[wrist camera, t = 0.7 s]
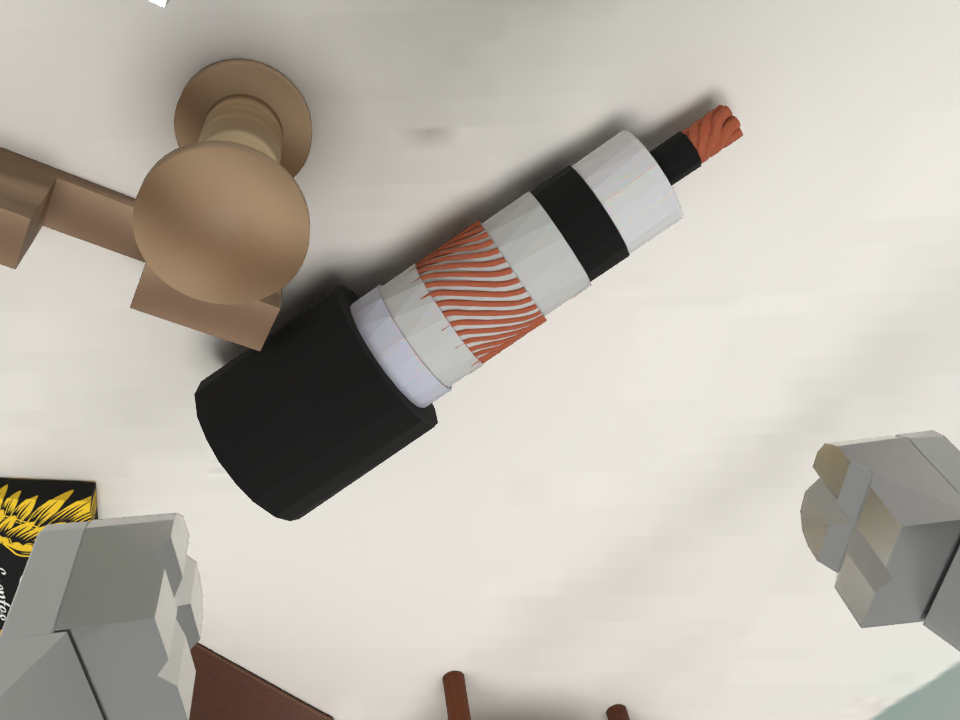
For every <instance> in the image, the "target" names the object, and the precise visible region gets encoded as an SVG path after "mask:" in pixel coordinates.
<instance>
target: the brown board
mask: <svg viewBox="0 0 960 720" xmlns="http://www.w3.org/2000/svg"><path fill="white" fill-rule="evenodd" d="M135 200H136V199H133V198H130V197H128V196H125V195H123V194H120V193H117V192H115V191H112V190H110V189H107V188H105V187H102V186H99V185H97V184H94V183H92V182H89V181H86V180H84V179H81V178H79V177H76V176H73V175H71V174H68V173H66V172H63V171H60V170H58V169H55V168H53V167H50V166H47V165H45V164H42V163H40V162H37V161H34V160H32V159H29V158H27V157H24V156H22V155H19V154H16V153H14V152H11V151H9V150H6V149H3V148H1V147H0V264H1V265H4V266H7V267H10V268H13V269H16V268H17V266H18V265H19V263H20V261H21V260H22V258H23V256H24V255H25V253H26V252H27V250H28V248H29V247H30V245H31V244H32V242H33V240H34V239H35V237H36V235H37V234H38V232H39V231H40V229H41V227H42V226H45V227H48V228H51V229H53V230H56V231H59V232H62V233H65V234H67V235H70V236H73V237H76V238H79V239H81V240H84V241H87V242H90V243H92V244H95V245H98V246H101V247H104V248H106V249H109V250H112V251H115V252H118V253H120V254H123V255H126V256H129V257H132V258H134V259H137V260H140V261H143V262H145V263H146V264H145V267H144V270H143V272H142V275H141V278H140V281H139V284H138V286H137V289H136V292H135V295H134V297H133V300H132V303H131V306H130V308H132V309H135V310H138V311H141V312H144V313H147V314H150V315H153V316H156V317H159V318H162V319H165V320H168V321H171V322H174V323H177V324H180V325H183V326H186V327H189V328H192V329H195V330H198V331H201V332H204V333H207V334H209V335H212V336H215V337H218V338H221V339H224V340H227V341H230V342H233V343H236V344H239V345H242V346H245V347H248V348H251V349H254V350H257V351H261V349H262V346H263V344H264V342H265V340H266V338H267V336H268V334H269V332H270V330H271V327H272V325H273V323H274V321H275V319H276V317H277V315H278V313H279V311H280V308H281V294H282V288H281V289H280V290H278V291H277V292H275V293H273V294H272V295H270V296H268V297H265V298H263V299H260V300H257V301H253V302H250V303H244V304H233V305H225V304H214V303H209V302H204V301H201V300H197V299H194V298H192V297H189V296H187V295H184V294H183V293H181V292H179V291H177V290H175V289H174V288H172V287H171V286H169V285H168V284H167V283H165V282H164V281H163V280H162V279H161V278H160V277H158V276H157V275H156V274H155V272H154V271H153V270H152V269H151V268H150V267H149V265H148V264H147V262H146V261H145V260H144V258H143V256H142V254H141V252H140V250H139V248H138V246H137V243H136V240H135V236H134V231H133V219H132V217H133V208H134V204H135Z"/></svg>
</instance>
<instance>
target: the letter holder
mask: <svg viewBox="0 0 960 720" xmlns="http://www.w3.org/2000/svg"><path fill="white" fill-rule="evenodd" d="M190 653H191V656H192V660H193V663H194V667H195V670H196V674H195V681H194V688H193V695H192V702H191V709H190V716H189V720H334V719H333V718H332V717H329V716H327V715H326V714H324V713H322V712H320V711H318V710H316V709H314V708H313V707H311V706H309V705H307V704H305V703H304V702H302V701H300V700H298V699H296V698H294V697H293V696H291V695H289V694H287V693H285V692H284V691H282V690H280V689H278V688H276V687H275V686H273V685H271V684H269V683H268V682H266V681H264V680H262V679H261V678H259V677H257V676H255V675H254V674H252V673H250V672H248V671H247V670H245V669H243V668H241V667H239V666H238V665H236V664H234V663H232V662H231V661H229V660H227V659H225V658H223V657H222V656H220V655H218V654H216V653H214V652H213V651H211V650H209V649H207V648H205V647H204V646H202V645H200V644H198V643H196V644H195V645H194V647H193V648H192V649H191V650H190Z"/></svg>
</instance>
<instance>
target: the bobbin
mask: <svg viewBox="0 0 960 720" xmlns="http://www.w3.org/2000/svg"><path fill="white" fill-rule="evenodd" d="M174 128H175V135H176V139H177V142H178V145H179V148H178V149H175V150H174V151H172V152H170V153H169V154H167V155H165V156H164V157H163V158H162V159H161V160H159V161H158V162H157V163H156V164H155V165H154V166H153V167H152V169H151V170H150V171H149V173H148V174H147V176H146V177H145V179H144V181H143V183H142V186H141V188H140V190H139V192H138V195H137V197H136V200H135V204H134V208H133V217H132V219H133V231H134V236H135V240H136V243H137V246H138V248H139V250H140V252H141V254H142V256H143V258H144V260H145V261H146V262H147V264H148V265H149V267H150V268H151V269H152V270H153V271H154V272H155V274H156V275H157V276H158V277H160V278H161V279H162V280H163V281H164V282H165V283H167V284H168V285H169V286H171V287H172V288H174V289H175V290H177V291H179V292H181V293H183V294H184V295H187V296H189V297H192V298H194V299H197V300H201V301H204V302H209V303H214V304H225V305H233V304H244V303H250V302H253V301H257V300H260V299H263V298H265V297H268V296H270V295H272V294H273V293H275V292H277V291H278V290H280V289H281V288H283V287H284V286H285V285H286V284H287V283H288V282H289V281H290V280H291V279H293V277H294V276H295V275H296V273H297V272H298V271H299V269H300V267H301V266H302V264H303V262H304V259H305V257H306V254H307V250H308V246H309V235H310V220H309V212H308V207H307V203H306V200H305V198H304V195H303V193H302V191H301V189H300V187H299V186H298V184H297V183H296V181H295V180H294V177H295V176H296V175H297V174H298V172H299V171H300V170H301V168H302V167H303V165H304V163H305V162H306V160H307V157H308V154H309V151H310V147H311V138H312V126H311V118H310V113H309V110H308V107H307V104H306V102H305V100H304V98H303V96H302V95H301V93H300V92H299V90H298V89H297V88H296V87H295V85H294V84H293V83H292V82H291V81H290V80H289V79H288V78H287V77H286V76H284V75H283V74H281V73H280V72H279V71H277V70H275V69H274V68H272V67H270V66H268V65H265V64H263V63H260V62H256V61H252V60H246V59H230V60H223V61H219V62H216V63H213V64H211V65H209V66H207V67H205V68H204V69H202V70H200V71H199V72H198V73H197V74H195V75H194V76H193V77H192V79H191V80H190V81H189V82H188V83H187V85H186V86H185V88H184V90H183V92H182V94H181V96H180V99H179V101H178V103H177V107H176V111H175V118H174Z"/></svg>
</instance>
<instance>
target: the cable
mask: <svg viewBox="0 0 960 720" xmlns="http://www.w3.org/2000/svg"><path fill="white" fill-rule="evenodd" d="M739 127H740V123H739V121H738V119H737V118H736V117H735V116H732V112H731V110H730V109H729V107H727V106H724V107H723V106H722V105H719V106H718V107H716V108H715V109H714V110H712V111H711V112H709V113H707V114H706V115H705V116H704V118H703V119H700V120H698V121H696V122H695V123H693V124H692V126H691V127H690V128H686V129H684V130H682V131H680V132H678V133H677V134H675V135H674V136H672V137H671V138H669V139H668V140H666V141H665V142H664V143H662V144H661V145H659V146H658V147H656V148H655V149H653V150H652V151H650V152H648V150H647V149H646V148H645V146H644V145H643V144H642V143H641V142H640V141H639V140H638V139H637V138H636V137H635V136H634V135H633V134H632V133H631V132H629V131H626V130H622V131H621V132H619V133H618V134H616V135H615V136H614V137H612V138H611V139H609V140H608V141H606V142H605V143H604V144H602V145H601V146H599V147H598V148H596V149H595V150H594V151H592V152H591V153H589V154H588V155H586V156H585V157H584V158H582V159H581V160H579V161H578V162H576V163H575V164H574V165H572V166H568V167H567V168H565V169H564V170H562V171H561V172H559V173H558V174H556V175H555V176H553V177H552V178H551V179H549V180H548V181H546V182H545V183H543V184H542V185H540V186H539V187H538V188H536V189H535V190H533V191H532V192H529V191H528V192H527V193H525V194H524V195H522V196H521V197H520V198H518V199H517V200H515V201H514V202H512V203H511V204H509V205H508V206H506V207H505V208H504V209H502V210H501V211H499V212H498V213H496V214H495V215H493V216H492V217H491V218H489V219H488V220H486V221H485V222H483V223H482V224H481V222H480V221H479V220H478V221H476V222H475V223H474V224H472V225H471V226H469V227H468V228H466V229H465V230H464V231H462V232H461V233H459V234H458V235H457V236H455V237H454V238H452V239H451V240H449V241H448V242H446V243H445V244H443V245H442V246H441V247H439V248H438V249H437V250H435V251H434V252H432V253H431V254H429V255H428V256H427V257H425V258H424V259H422V260H421V261H419V262H418V263H416V264H413V265H412V266H410V267H409V268H408V269H406V270H405V271H403V272H402V273H400V274H399V275H398V276H396V277H395V278H393V279H392V280H390V281H389V282H388V283H386V284H385V285H383V286H382V285H378V286H377V287H375V288H374V289H373V290H371V291H370V292H368V293H367V294H365V295H364V296H363V297H361V298H358V297H357V296H356V295H355V294H354V293H353V292H352V291H351V290H349V289H347V288H345V287H343V286H341V285H340V286H339V287H337V288H336V289H334V290H333V291H331V292H330V293H328V294H327V295H326V296H324V297H323V298H321V299H320V300H318V301H317V302H315V303H314V304H313V305H311V306H310V307H308V308H307V309H305V310H304V311H302V312H301V313H300V314H298V315H297V316H295V317H294V318H292V319H291V320H289V321H288V322H287V323H285V324H284V325H282V326H281V327H279V328H278V329H276V330H275V331H274V332H272V333H271V334H269V335H268V336H267V338H266V340H265V342H264V344H263V346H262V349H261V351H257V350H254V349H251V348H249V349H248V350H246V351H245V352H243V353H242V354H240V355H239V356H237V357H236V358H235V359H233V360H232V361H230V362H229V363H227V364H226V365H224V366H223V367H222V368H220V369H219V370H217V371H216V372H214V373H213V374H211V375H210V376H209V377H207V378H206V379H204V380H203V381H201V383H200V385H199V387H198V389H197V391H196V393H195V402H196V410H197V417H198V420H199V422H200V425H201V427H202V430H203V432H204V435H205V437H206V440H207V441H208V443H209V445H210V447H211V449H212V450H213V452H214V454H215V456H216V457H217V459H218V461H219V462H220V464H221V465H222V466H223V468H224V469H225V470H226V471H227V473H228V474H229V475H230V477H231V478H232V479H233V481H234V482H235V483H236V484H237V486H238V487H239V488H240V489H241V490H242V491H243V492H244V493H245V494H246V495H247V496H248V497H249V498H250V499H251V500H252V501H253V502H254V503H256V504H257V505H259V506H260V507H262V508H263V509H264V510H266V511H267V512H269V513H270V514H272V515H273V516H275V517H277V518H281V519H284V520H288V521H292V520H297V519H300V518H301V517H303V516H304V515H306V514H307V513H309V512H310V511H312V510H313V509H315V508H316V507H317V506H319V505H320V504H322V503H323V502H325V501H326V500H328V499H329V498H331V497H332V496H334V495H335V494H337V493H338V492H339V491H341V490H342V489H344V488H345V487H347V486H348V485H350V484H351V483H353V482H354V481H356V480H357V479H359V478H360V477H361V476H363V475H364V474H366V473H367V472H369V471H370V470H372V469H373V468H375V467H376V466H378V465H379V464H381V463H382V462H383V461H385V460H386V459H388V458H389V457H391V456H392V455H394V454H395V453H397V452H398V451H400V450H401V449H402V448H404V447H405V446H407V445H408V444H410V443H411V442H413V441H414V440H416V439H417V438H419V437H420V436H422V435H423V434H424V433H426V432H427V431H429V430H430V429H432V428H433V427H434V426H435V425H436V424H437V423H438V421H437V417H436V412H435V408H434V406H433V404H432V402H434V401H435V400H437V399H438V398H440V397H441V396H443V395H444V394H446V393H447V392H449V391H450V390H451V388H452V384H454V383H455V382H457V381H458V380H460V379H461V378H463V377H464V376H466V375H468V374H470V373H472V372H473V371H475V370H477V369H478V368H480V367H481V366H482V365H483V363H485V362H486V361H488V360H489V359H490V358H492V357H493V356H495V355H496V354H498V353H500V352H501V351H502V350H503V349H505V348H507V347H508V346H510V345H511V344H513V343H514V342H515V341H517V340H518V339H520V338H521V337H523V336H524V335H526V334H527V333H528V332H530V331H532V330H533V329H535V328H536V327H538V326H539V325H541V324H542V323H544V322H545V321H547V320H546V318H545V317H544V316H545V315H547V314H548V313H550V312H551V311H553V310H554V309H556V308H557V307H559V306H560V305H561V304H563V303H564V302H566V301H567V300H569V299H571V298H573V297H575V296H576V295H578V294H579V293H581V292H582V291H584V290H585V289H587V288H588V287H589V286H591V285H592V284H591V281H592V280H594V279H595V278H597V277H598V276H600V275H601V274H603V273H604V272H606V271H607V270H609V269H610V268H612V267H613V266H615V265H616V264H618V263H619V262H621V261H622V260H624V259H625V258H627V257H628V256H629V255H630V253H632V252H633V251H635V250H636V249H638V248H639V247H640V246H642V245H643V244H645V243H646V242H648V241H649V240H651V239H652V238H654V237H655V236H657V235H658V234H660V233H661V232H663V231H664V230H665V229H667V228H668V227H670V226H671V225H673V224H674V223H676V222H677V221H679V220H680V219H682V215H683V214H682V209H681V205H680V203H679V201H678V199H677V196H676V194H675V192H674V190H673V188H672V185H673V184H675V183H676V182H678V181H679V180H681V179H682V178H684V177H685V176H687V175H688V174H690V173H691V172H693V171H694V170H696V169H697V168H699V167H700V166H701V164H702V163H703V162H705V161H706V160H708V158H709V157H712V156H713V155H715V154H717V153H718V152H719V151H720V150H721V149H722V148H725V147H727V146H728V145H730V144H731V143H733V142H734V141H736V140H737V139H739V138H740V137H741V136H743V133H742V131H741V129H740V128H739Z"/></svg>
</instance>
